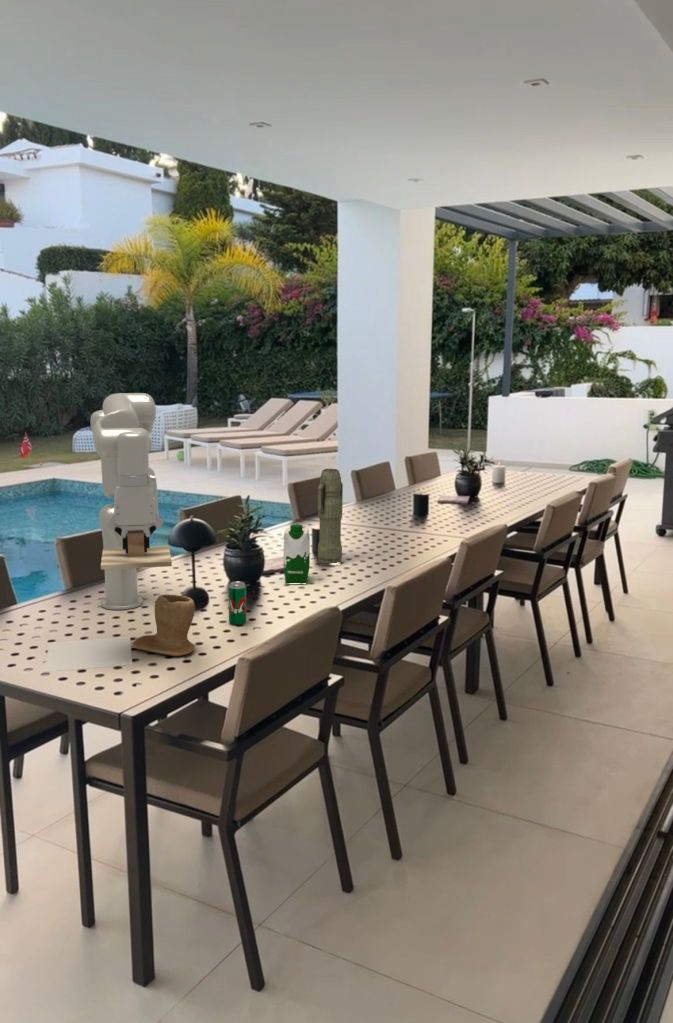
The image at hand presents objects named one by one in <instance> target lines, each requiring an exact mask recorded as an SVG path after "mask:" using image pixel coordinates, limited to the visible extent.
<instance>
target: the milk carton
mask: <svg viewBox="0 0 673 1023" xmlns="http://www.w3.org/2000/svg"><path fill="white" fill-rule="evenodd" d="M283 534H284V535H283V574H284V582H285V584H286V583H306V582H308V577H309V572H310V567H311V566H310V564H311V562H310V561H311V560H310V559H311V558H310V557H311V552H310V551H311V548H310V547H311V545H310V544H311V542H310V541H311V536H310V531H309V527H308V528H307V527H306V528H305V527H303V524H298V523H297V524H291V525H290V527H286V528H285V530H284V533H283ZM306 584H307V583H306Z"/></svg>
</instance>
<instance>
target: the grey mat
mask: <svg viewBox="0 0 673 1023" xmlns="http://www.w3.org/2000/svg"><path fill="white" fill-rule="evenodd" d="M131 643H132V642H131V636H122V637H121V636H119V637H110V638H96V639H95V638H94V639H83V640H82V639H81V640H80V639H79V640H69V641H68V640H67V641H56V642H55V641H54V642H48V648H47V652H46V658H45V664H44V669H43V672H44V673H47V672H59V671H68V670H69V671H71V670H83V669H94V668H95V669H96V668H108V667H119V666H132V665H133V655H132V654H133V653H132V644H131Z"/></svg>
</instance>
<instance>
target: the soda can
mask: <svg viewBox="0 0 673 1023" xmlns="http://www.w3.org/2000/svg"><path fill="white" fill-rule="evenodd" d="M245 584H246V583H245V582H244V581H236V580H235V581H232V582H229V586H228V587H227V591H228V592H227V593H228V623H229V624H230V625H232V626H243V625H245V624H246V623H247V585H245Z"/></svg>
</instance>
